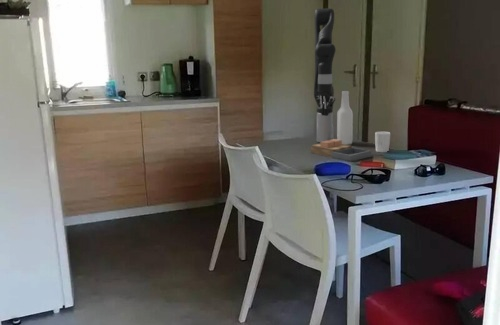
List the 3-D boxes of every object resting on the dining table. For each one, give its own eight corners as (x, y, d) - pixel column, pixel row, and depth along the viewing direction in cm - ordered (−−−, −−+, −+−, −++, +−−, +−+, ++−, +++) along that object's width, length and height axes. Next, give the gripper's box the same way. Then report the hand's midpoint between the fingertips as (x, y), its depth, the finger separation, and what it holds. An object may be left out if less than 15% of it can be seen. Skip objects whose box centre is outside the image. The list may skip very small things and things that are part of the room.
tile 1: (327, 145, 273) (327, 140, 273) (334, 146, 270) (334, 141, 269) (320, 146, 270) (320, 141, 270) (327, 147, 267) (327, 143, 266)
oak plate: (329, 148, 283) (329, 141, 282) (351, 153, 271) (351, 145, 270) (310, 152, 275) (310, 145, 274) (333, 157, 262) (333, 149, 261)
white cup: (372, 152, 272) (373, 133, 270) (376, 149, 279) (377, 131, 276) (387, 153, 268) (388, 134, 266) (391, 150, 275) (391, 131, 273)
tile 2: (334, 143, 277) (334, 138, 276) (341, 144, 273) (341, 140, 273) (328, 144, 274) (328, 140, 273) (335, 146, 270) (335, 141, 270)
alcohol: (333, 143, 298) (334, 91, 292) (346, 141, 302) (347, 90, 295) (342, 145, 291) (343, 92, 284) (355, 144, 294) (356, 91, 287)
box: (352, 152, 271) (353, 147, 271) (371, 156, 262) (371, 150, 261) (331, 157, 262) (331, 152, 261) (350, 161, 253) (350, 155, 252)
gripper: (339, 82, 269) (339, 115, 273) (320, 81, 279) (320, 113, 283) (329, 83, 264) (329, 117, 268) (310, 82, 275) (310, 115, 279)
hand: (324, 115), depth 276 cm, fingers closed
